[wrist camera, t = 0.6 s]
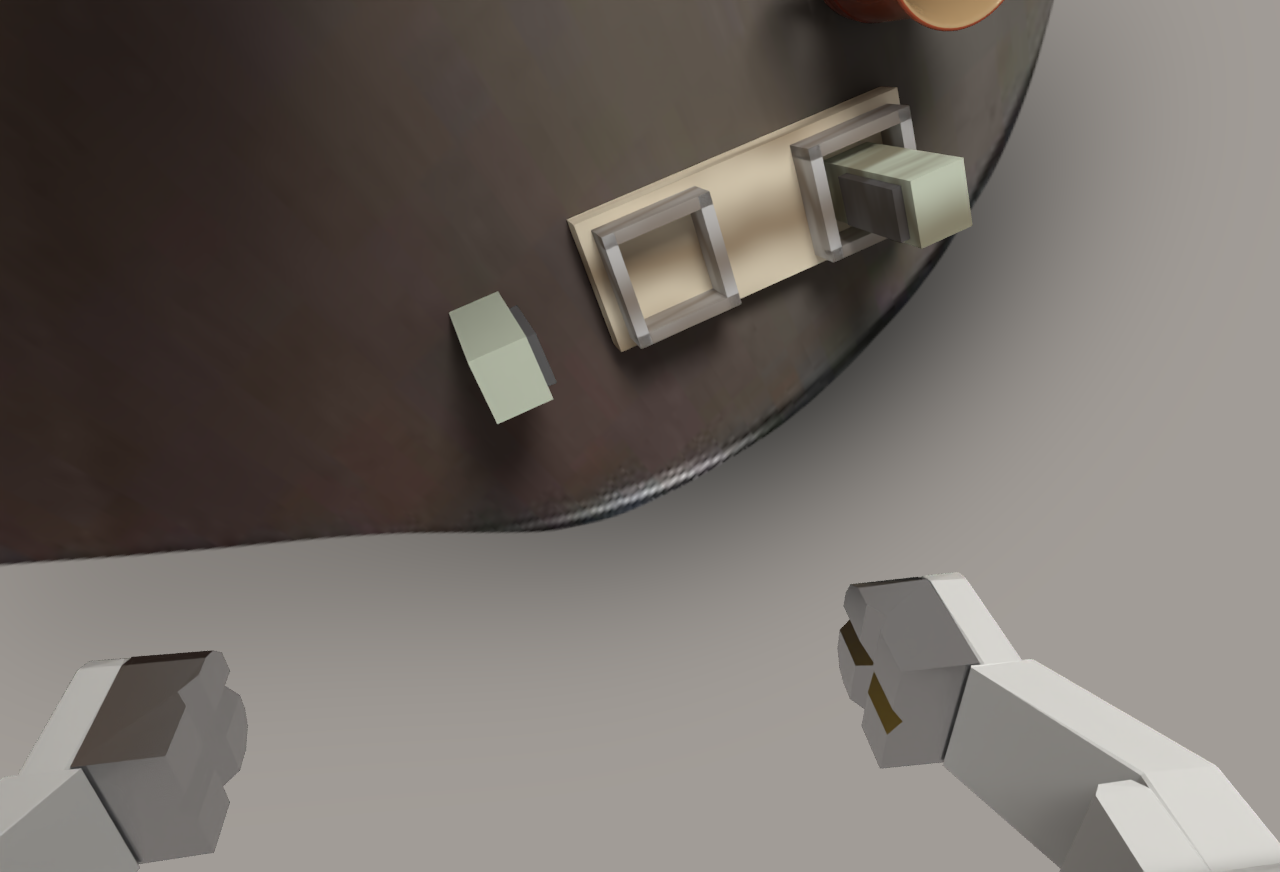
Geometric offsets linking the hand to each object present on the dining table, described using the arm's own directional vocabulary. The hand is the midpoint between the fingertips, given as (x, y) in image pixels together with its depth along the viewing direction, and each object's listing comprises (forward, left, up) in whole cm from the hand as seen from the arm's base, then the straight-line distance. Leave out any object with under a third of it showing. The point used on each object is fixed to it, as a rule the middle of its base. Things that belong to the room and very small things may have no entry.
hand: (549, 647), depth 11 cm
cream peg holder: (+10, +20, -44) cm, 50 cm away
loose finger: (+10, +1, -44) cm, 45 cm away
